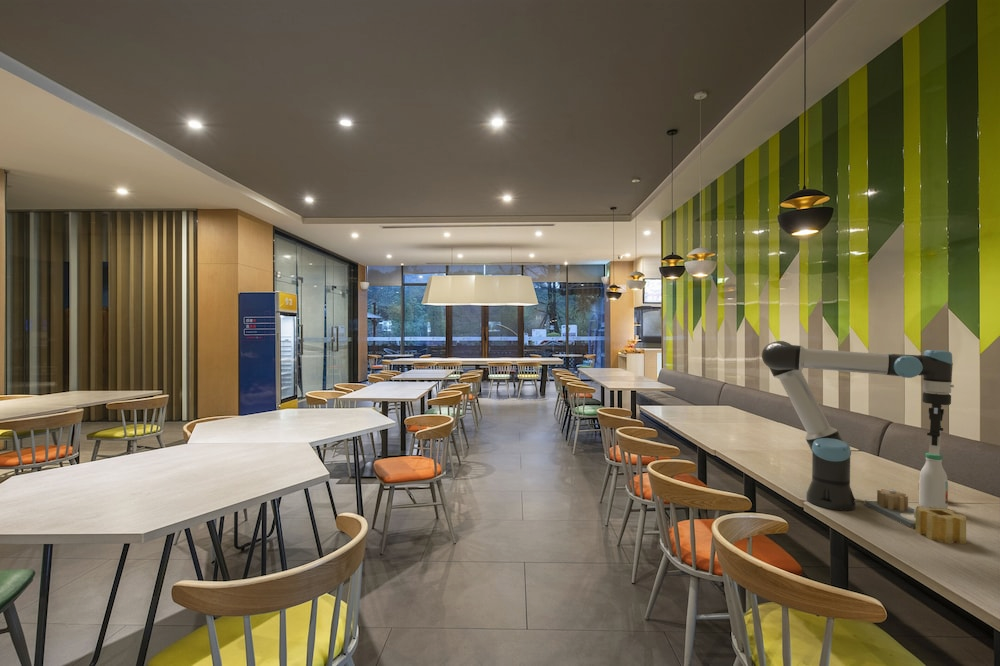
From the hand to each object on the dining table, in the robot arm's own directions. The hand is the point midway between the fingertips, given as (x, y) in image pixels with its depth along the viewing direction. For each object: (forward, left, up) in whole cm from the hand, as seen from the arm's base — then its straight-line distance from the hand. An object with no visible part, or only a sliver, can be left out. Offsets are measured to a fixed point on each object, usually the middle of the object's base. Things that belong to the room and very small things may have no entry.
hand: (934, 451), depth 166 cm
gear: (-17, -21, -22) cm, 35 cm away
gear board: (-15, -5, -22) cm, 27 cm away
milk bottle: (+3, +4, -22) cm, 23 cm away
